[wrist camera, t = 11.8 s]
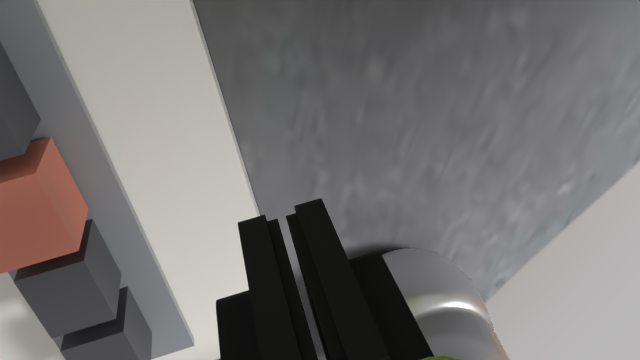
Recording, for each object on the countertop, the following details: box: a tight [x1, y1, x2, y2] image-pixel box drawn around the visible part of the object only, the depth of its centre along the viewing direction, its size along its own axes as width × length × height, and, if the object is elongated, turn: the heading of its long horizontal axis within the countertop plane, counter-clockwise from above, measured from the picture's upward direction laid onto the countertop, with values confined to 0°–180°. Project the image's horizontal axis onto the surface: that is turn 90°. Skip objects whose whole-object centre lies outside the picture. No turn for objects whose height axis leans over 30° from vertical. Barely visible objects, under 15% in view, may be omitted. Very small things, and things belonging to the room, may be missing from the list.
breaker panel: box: [0, 0, 260, 360], centre depth 17 cm, size 12×20×6 cm, turn 12°
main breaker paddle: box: [0, 137, 89, 274], centre depth 15 cm, size 2×3×2 cm
